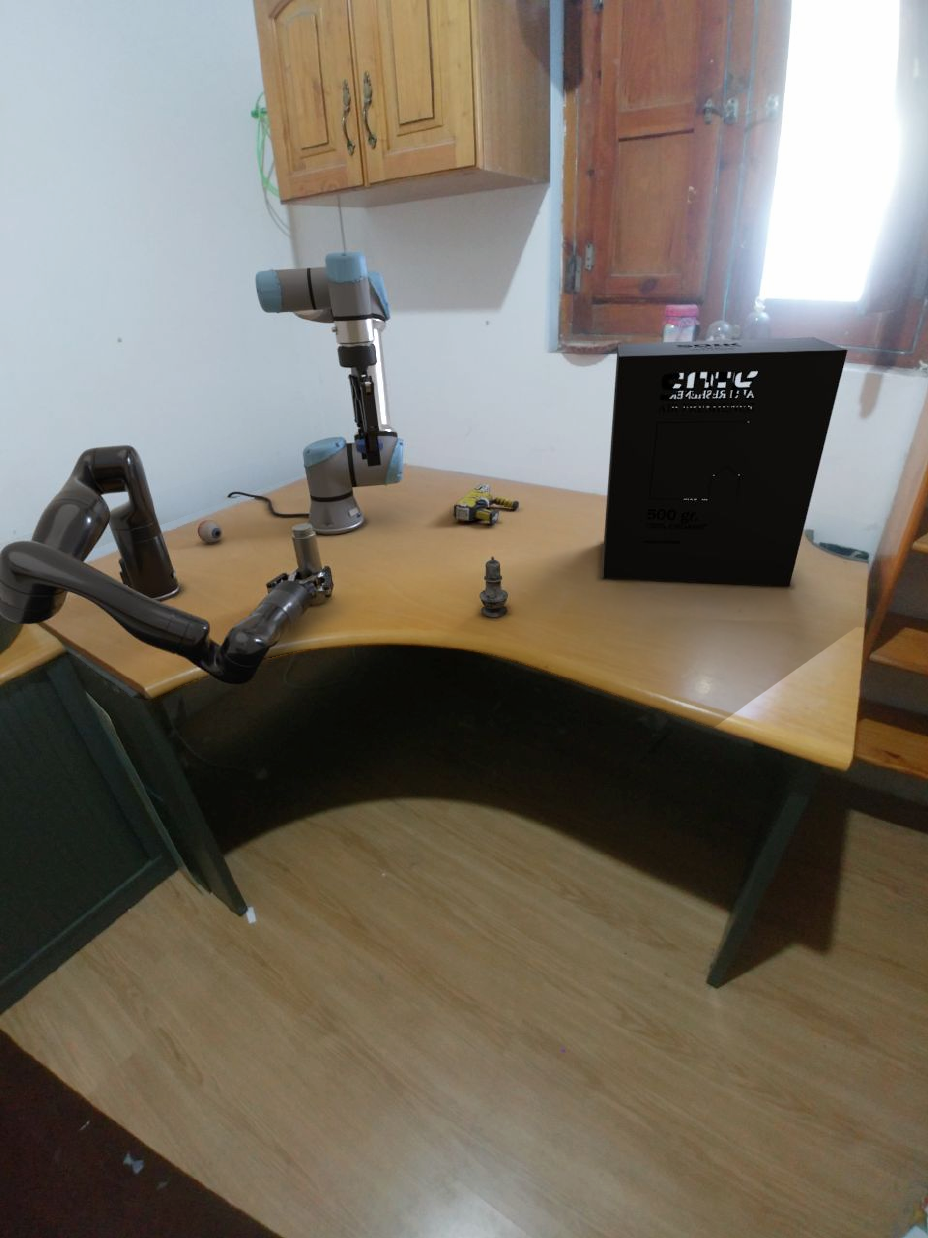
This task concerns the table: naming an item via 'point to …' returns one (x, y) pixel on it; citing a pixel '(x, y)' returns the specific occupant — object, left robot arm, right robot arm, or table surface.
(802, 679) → the table surface
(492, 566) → the dark grey tiered cylinder
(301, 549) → the jar
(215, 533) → the eyeball
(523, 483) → the table surface
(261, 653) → the left robot arm
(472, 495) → the toy gun
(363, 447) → the lid
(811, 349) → the cardboard box
